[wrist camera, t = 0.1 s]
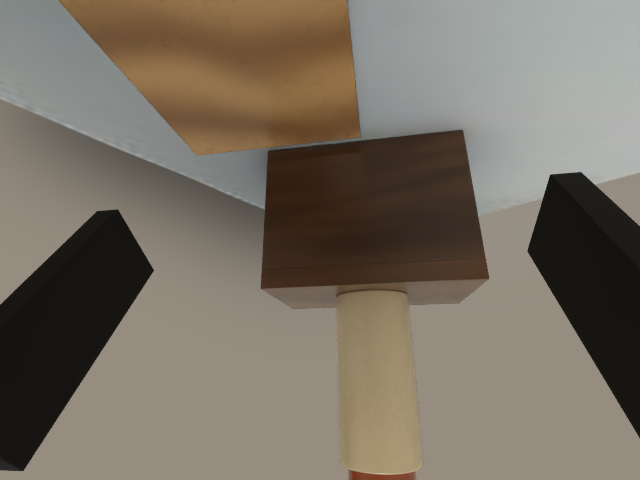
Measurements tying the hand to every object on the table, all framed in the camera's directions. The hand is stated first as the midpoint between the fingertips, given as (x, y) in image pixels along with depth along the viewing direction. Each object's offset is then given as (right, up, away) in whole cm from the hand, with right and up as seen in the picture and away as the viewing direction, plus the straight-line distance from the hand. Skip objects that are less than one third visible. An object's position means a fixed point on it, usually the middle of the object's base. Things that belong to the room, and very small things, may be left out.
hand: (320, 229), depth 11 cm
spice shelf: (+4, +6, +22) cm, 23 cm away
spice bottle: (+4, -5, +18) cm, 19 cm away
